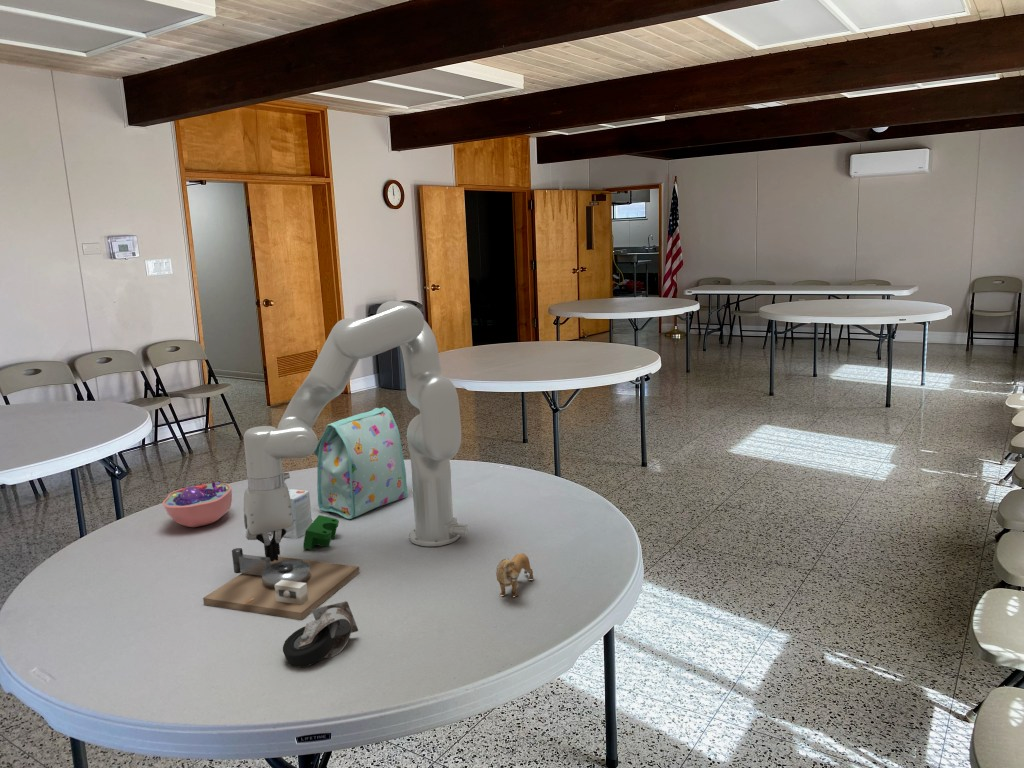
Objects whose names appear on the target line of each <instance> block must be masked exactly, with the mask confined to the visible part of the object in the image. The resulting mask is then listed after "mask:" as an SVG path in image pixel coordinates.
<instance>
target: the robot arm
mask: <svg viewBox="0 0 1024 768" xmlns="http://www.w3.org/2000/svg"><path fill="white" fill-rule="evenodd" d="M325 340H326V341H325V342H324V344H323V346H322V348H321V351H320V352H319V354H318V356H317V358H316V360H315V362H314V364H313V365H312V368H311V369H310V371H309V373H308V375H307V377H306V378H305V379H304V380H303V381H302V384H301V385H300V386H299V387H298V389H297V390H296V392H295V393H294V395H293V396H292V398H291V400H290V401H289V402H288V405H287V407H286V409H285V410H284V412H283V415H282V417H281V419H280V421H279V423H278V425H277V427H274V426H272V425H270V426H269V425H259V426H254V427H251V428H249V429H246V430H245V432H244V434H243V444H244V457H245V465H246V477H247V487H248V488H245V489H244V493H243V495H244V496H243V523H244V528H245V531H246V532H245V538H246V540H248V541H259V542H260V543H262V544H263V546H264V547H263V548H264V555H265V556H264V557H269V558H270V561H271V562H273V561H274V560H276V561H277V560H278V557H279V556H280V555H281V550H280V547H281V546H280V543H281V540H282V539H283V538H284V537H283V536H284V535H285V534H286V533H288V532H290V531H292V530H294V529H295V526H294V524H293V523H294V517H293V509H292V504H291V499H290V495H289V491H288V489H289V488H288V485H287V483H286V482H285V481H286V480H287V479H291V477H290V472H284V470H283V462H282V461H283V460H282V459H284V460H285V459H286V460H287V459H289V460H290V459H291V460H292V459H293V460H296V459H297V460H299V459H305V458H308V457H309V456H312V455H313V454H314V451H315V450H316V448H317V444H318V442H319V440H318V437H317V434H316V433H315V431H314V430H313V427H314V425H315V423H316V421H317V419H318V417H319V416H320V414H321V412H322V411H323V409H324V408H325V406H326V405H328V403H329V402H331V401H332V400H334V399H335V398H337V397H338V396H340V395H341V394H342V393H343V392H344V391H345V389H346V386H347V384H348V383H349V381H350V379H351V377H352V375H353V373H354V371H355V369H356V367H357V366H358V365H357V364H358V363H359V361H360V360H362V359H368V358H371V357H373V356H376V355H379V354H382V353H385V352H387V351H390V350H392V349H394V348H398V347H400V350H401V354H402V360H403V367H404V378H405V389H406V396H407V399H408V402H410V404H411V405H412V406H413V407H415V408H417V409H418V410H419V414H417V415H415V416H413V418H412V419H411V420H410V422H409V424H408V426H407V430H406V441H407V447H408V452H409V457H410V466H411V477H412V478H411V482H412V483H411V484H412V497H413V513H414V514H413V515H414V528H413V530H411V532H409V541H410V542H411V543H412V544H415V545H417V546H420V547H440V546H446V545H449V544H452V543H454V542H455V541H457V540H458V539H460V536H467V535H468V534H469V528H468V525H467V524H463V523H461V524H459V523H458V519H457V517H454V514H453V513H454V512H453V511H454V510H453V494H452V493H453V492H452V474H451V473H452V471H451V470H452V469H451V462H450V460H451V459H453V458H454V457H455V456H456V455H457V454H458V452H459V450H460V448H461V445H462V425H461V424H462V423H461V412H460V400H459V395H458V391H457V389H456V386H455V385H454V383H453V382H452V381H451V380H450V379H449V378H448V377H446V376H444V375H443V373H442V368H441V362H440V356H439V355H440V354H439V347H438V343H437V339H436V336H435V334H434V332H433V330H432V328H431V327H430V325H429V324H428V322H427V321H426V320H425V317H424V315H423V313H422V311H421V310H420V309H419V308H418V307H417V306H416V305H414V304H411V303H408V302H403V301H399V300H398V301H397V300H388V301H386V302H383V303H381V305H380V306H378V308H377V310H376V314H373V315H370V316H368V317H367V316H366V317H365V318H361V319H357V318H349V317H348V318H343V319H340V320H339V321H337V322H336V323H335V325H333V327H332V328H331V331H330V332H329V334H328V337H327V339H325ZM272 531H273V534H272V535H271V540H270V536H269V534H268V532H272Z"/></svg>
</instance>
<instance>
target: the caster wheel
mask: <svg viewBox="0 0 1024 768" xmlns="http://www.w3.org/2000/svg"><path fill="white" fill-rule="evenodd" d="M311 613H312V616H313V617H314V620H311V621H310V622H308V623H306V624H305V626H302V627H301V628H299V629H297V630H296V631H294V632H293V633H291V634H290V635H289V636H288V637H287V638H286V640H285V641H284V643H283V645H282V653H283V655H284V657H285V660H286V661H287V663H288V665H289V666H290V667H291V666H292V667H293V668H294V667H295V668H304V667H309V666H312V665H314V664H316V663H317V662H319V661H321V660H322V659H329V658H331V657H335V656H336V655H338V654H340V653H341V652H342V651H343V649H344V648H345V647H346V645H347V644H348V642H349V640H350V637H351V634H352V633H356V632H359V628H358V625H357V623H356V620H355V617H354V614H353V612H352V610H351V608H350V605H349V602H348V601H346V600H345V601H341V602H337V603H333V604H329V605H325V606H319V607H317V608H316V609H312V612H311Z"/></svg>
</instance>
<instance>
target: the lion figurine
mask: <svg viewBox="0 0 1024 768" xmlns="http://www.w3.org/2000/svg"><path fill="white" fill-rule="evenodd" d="M530 563H531V562H530V559H529V557H528V556H527V555H526V554H525V553H517V554H515V555H514V556H513V557H512V559H509V558H504V559H502V560H501V561H499V562H498V565H497V567H496V572H495V574H496V575H495V576H496V581H497V582H498V583H499V587H500V590H501V591H500V593H499V594H500V595H505V596H506V594H507V593H506V588H507V587H510V586H511V596H512V595H513V596H517V595H518V591H517V587H518V586H517V585H518V579H519V577H520V574H521V572H522V569H523V570H524V571H523V572H524V575H525V574H526V575H527V574H529V576H528V577H527V580H528V579H533V580H534V575H533V574H534V571H533V569H532V568H531V565H530ZM500 595H499V596H500Z"/></svg>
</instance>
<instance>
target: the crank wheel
mask: <svg viewBox="0 0 1024 768" xmlns="http://www.w3.org/2000/svg"><path fill="white" fill-rule="evenodd" d="M231 556H232V566H233V572H234V573H235V574H241V573H245V574H253V575H260V576H262V581H263V585H264V586H265V587H267V588H270V589H275V584H276V583H278V582H279V581H281V580H287V581H295V582H302V583H305V582H306V581H307V580H309V578H310V576H311V574H310V566H309V564H308V563H306V562H304V561H297V560H292V561H284V562H279V563H276V564H273V565H270V558H269V557H266V556H262V555H251V554H244V552H243V548H242V547H241V548H240V547H238V548H237V547H235V548H233V549H232V550H231Z"/></svg>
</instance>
